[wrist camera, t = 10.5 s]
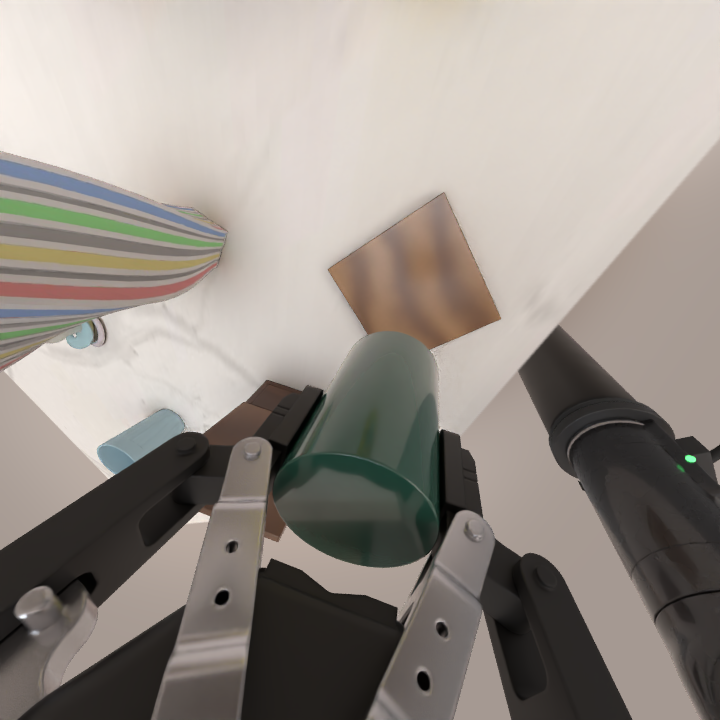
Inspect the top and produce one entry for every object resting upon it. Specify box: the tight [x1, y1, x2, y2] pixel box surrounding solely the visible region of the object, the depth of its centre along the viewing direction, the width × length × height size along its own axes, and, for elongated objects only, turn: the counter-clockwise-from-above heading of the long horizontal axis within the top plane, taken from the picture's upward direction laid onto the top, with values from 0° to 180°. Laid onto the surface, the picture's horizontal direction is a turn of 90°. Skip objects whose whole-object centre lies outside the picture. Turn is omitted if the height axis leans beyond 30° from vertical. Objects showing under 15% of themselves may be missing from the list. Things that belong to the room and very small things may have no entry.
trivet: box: [328, 193, 501, 350], centre depth 32 cm, size 14×14×1 cm
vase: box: [0, 151, 228, 372], centre depth 23 cm, size 14×14×30 cm
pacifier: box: [46, 318, 105, 349], centre depth 45 cm, size 7×6×6 cm
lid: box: [199, 402, 287, 542], centre depth 31 cm, size 15×13×1 cm
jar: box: [272, 331, 440, 568], centre depth 13 cm, size 5×5×9 cm
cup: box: [97, 409, 184, 475], centre depth 49 cm, size 8×8×10 cm
